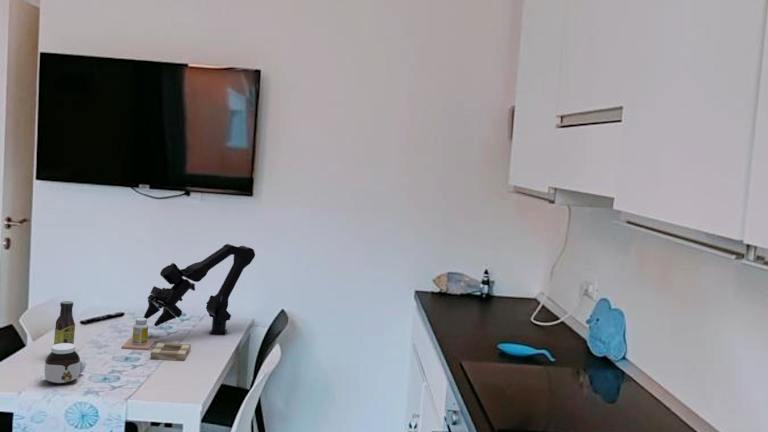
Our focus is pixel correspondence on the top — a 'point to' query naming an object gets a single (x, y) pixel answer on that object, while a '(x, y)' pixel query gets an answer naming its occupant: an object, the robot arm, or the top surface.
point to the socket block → (170, 351)
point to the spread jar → (63, 364)
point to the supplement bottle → (140, 331)
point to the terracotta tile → (139, 347)
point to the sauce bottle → (65, 324)
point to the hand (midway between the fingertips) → (149, 322)
